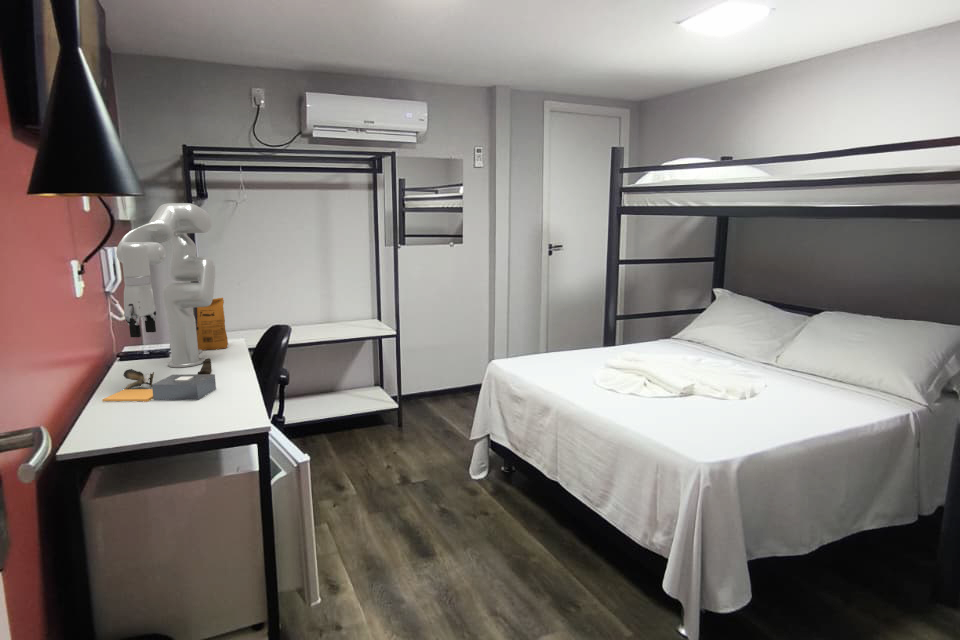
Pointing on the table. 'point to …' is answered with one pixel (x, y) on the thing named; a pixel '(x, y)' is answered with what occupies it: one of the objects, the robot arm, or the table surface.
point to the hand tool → (206, 367)
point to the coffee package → (211, 326)
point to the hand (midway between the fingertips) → (143, 334)
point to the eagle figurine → (137, 378)
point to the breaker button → (184, 378)
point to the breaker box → (184, 387)
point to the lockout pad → (131, 395)
